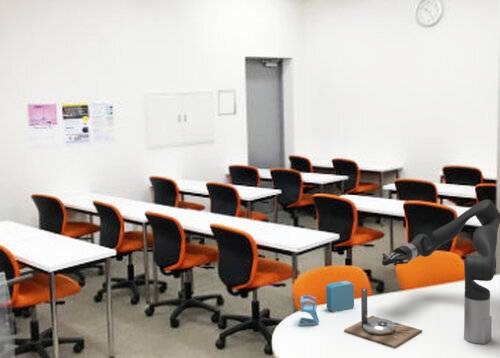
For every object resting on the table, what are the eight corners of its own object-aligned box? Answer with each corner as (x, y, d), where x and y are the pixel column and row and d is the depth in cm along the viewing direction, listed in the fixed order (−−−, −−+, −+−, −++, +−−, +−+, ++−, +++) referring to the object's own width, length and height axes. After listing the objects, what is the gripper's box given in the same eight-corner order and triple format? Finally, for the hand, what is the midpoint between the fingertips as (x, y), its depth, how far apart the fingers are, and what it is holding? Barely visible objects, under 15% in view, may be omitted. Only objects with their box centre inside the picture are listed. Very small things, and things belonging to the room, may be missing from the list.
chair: (318, 327, 246) (317, 299, 244) (298, 326, 247) (297, 299, 246) (319, 320, 253) (319, 293, 251) (300, 319, 255) (299, 293, 253)
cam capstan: (405, 325, 240) (405, 288, 237) (399, 338, 228) (399, 298, 226) (365, 320, 247) (365, 284, 245) (357, 332, 235) (357, 294, 233)
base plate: (422, 332, 236) (422, 329, 236) (395, 348, 222) (395, 345, 222) (372, 317, 253) (371, 315, 253) (344, 332, 239) (344, 329, 239)
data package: (349, 305, 269) (348, 280, 268) (354, 308, 265) (354, 282, 264) (326, 309, 265) (325, 284, 263) (331, 312, 261) (330, 287, 259)
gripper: (418, 264, 255) (397, 274, 243) (392, 259, 264) (370, 269, 252) (418, 247, 254) (397, 257, 242) (391, 243, 263) (370, 252, 251)
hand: (383, 263), depth 247 cm, fingers closed
